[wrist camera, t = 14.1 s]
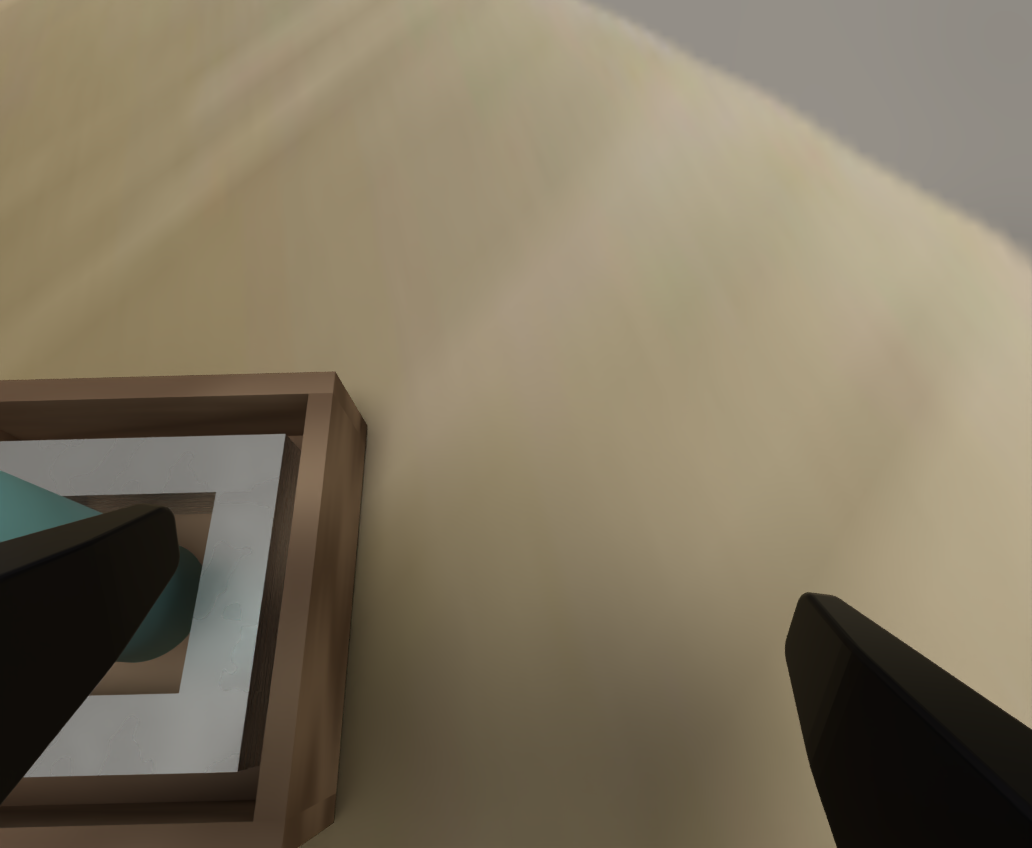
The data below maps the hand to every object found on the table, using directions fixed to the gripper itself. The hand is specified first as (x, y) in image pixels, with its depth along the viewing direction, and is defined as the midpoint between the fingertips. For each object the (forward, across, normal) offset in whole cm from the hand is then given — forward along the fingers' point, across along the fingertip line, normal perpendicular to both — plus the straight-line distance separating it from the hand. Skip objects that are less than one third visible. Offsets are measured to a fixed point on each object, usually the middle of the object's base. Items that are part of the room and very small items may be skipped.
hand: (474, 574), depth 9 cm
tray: (+9, +12, +10) cm, 18 cm away
